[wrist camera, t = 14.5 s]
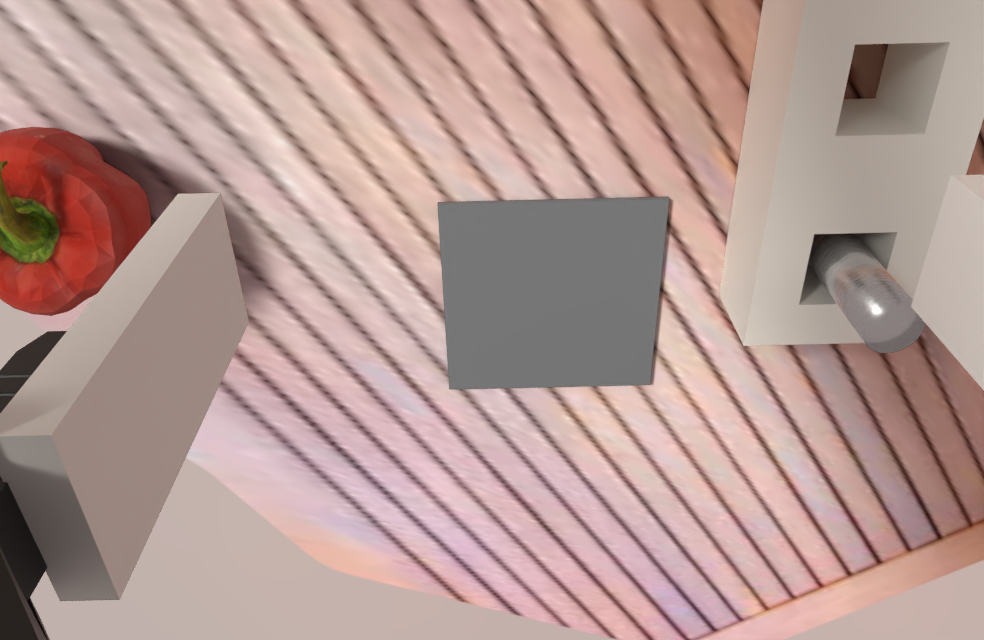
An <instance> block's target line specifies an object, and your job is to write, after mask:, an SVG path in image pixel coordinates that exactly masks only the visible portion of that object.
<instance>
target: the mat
mask: <svg viewBox="0 0 984 640" xmlns="http://www.w3.org/2000/svg"><path fill="white" fill-rule="evenodd" d="M668 206H669V198H668V197H635V198H593V199H551V200H509V201H467V202H438V218H439V234H440V249H441V265H442V281H443V296H444V312H445V327H446V343H447V359H448V374H449V389H487V388H531V387H575V386H619V385H650V378H651V368H652V359H653V349H654V340H655V330H656V320H657V311H658V301H659V292H660V282H661V273H662V263H663V254H664V244H665V234H666V225H667V215H668Z"/></svg>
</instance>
